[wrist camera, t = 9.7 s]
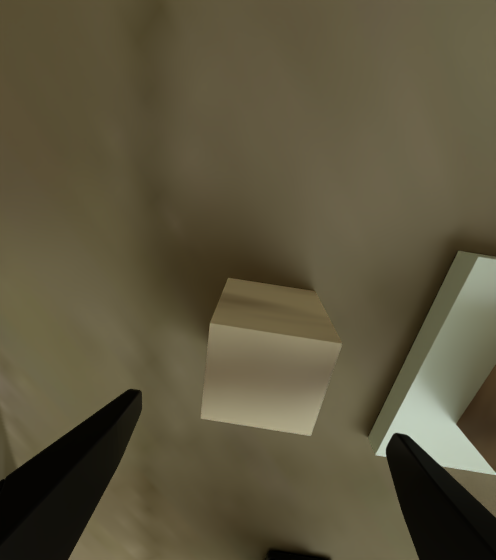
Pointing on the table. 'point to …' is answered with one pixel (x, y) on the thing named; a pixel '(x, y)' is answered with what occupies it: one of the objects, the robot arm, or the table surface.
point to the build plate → (446, 368)
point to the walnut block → (482, 420)
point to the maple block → (268, 357)
